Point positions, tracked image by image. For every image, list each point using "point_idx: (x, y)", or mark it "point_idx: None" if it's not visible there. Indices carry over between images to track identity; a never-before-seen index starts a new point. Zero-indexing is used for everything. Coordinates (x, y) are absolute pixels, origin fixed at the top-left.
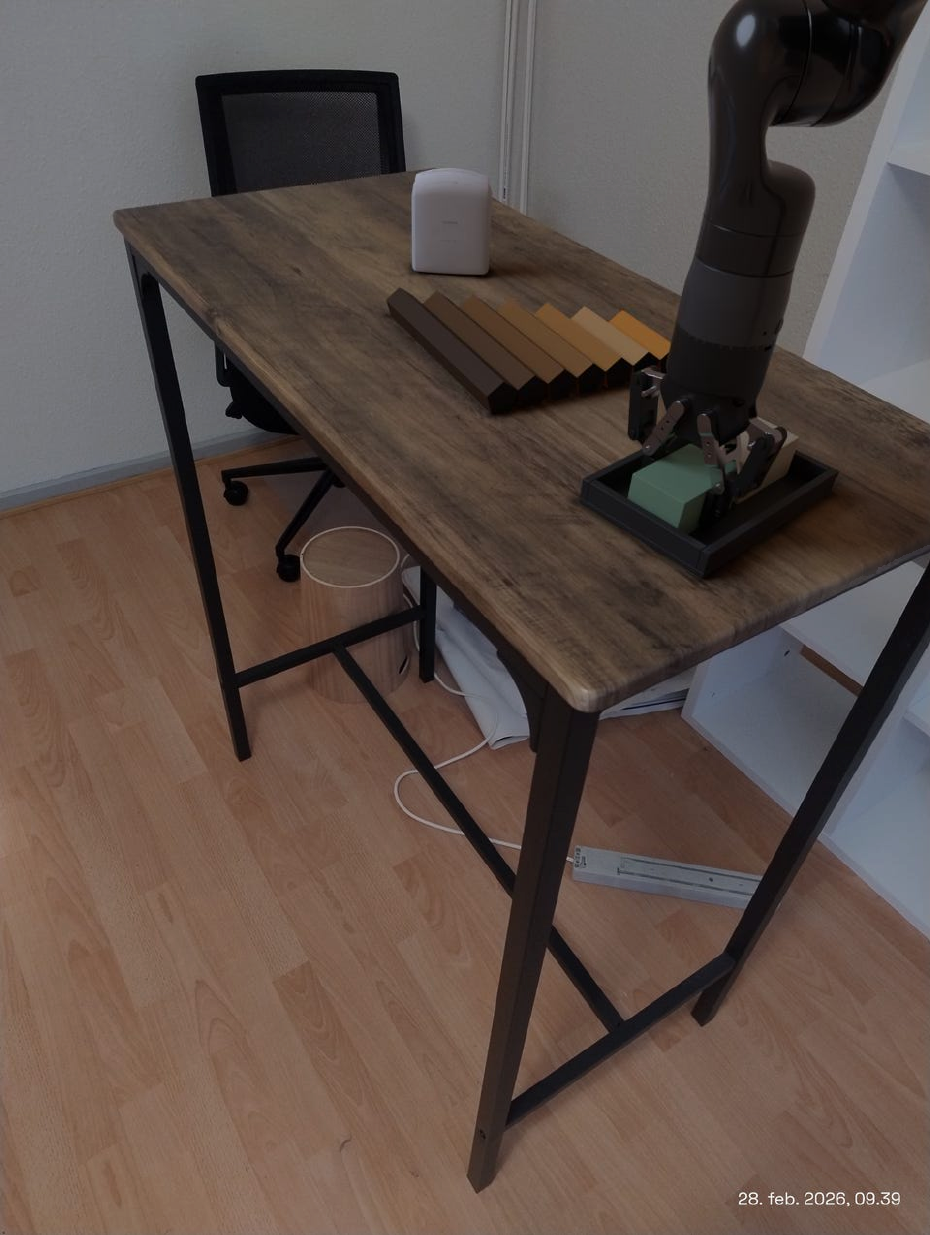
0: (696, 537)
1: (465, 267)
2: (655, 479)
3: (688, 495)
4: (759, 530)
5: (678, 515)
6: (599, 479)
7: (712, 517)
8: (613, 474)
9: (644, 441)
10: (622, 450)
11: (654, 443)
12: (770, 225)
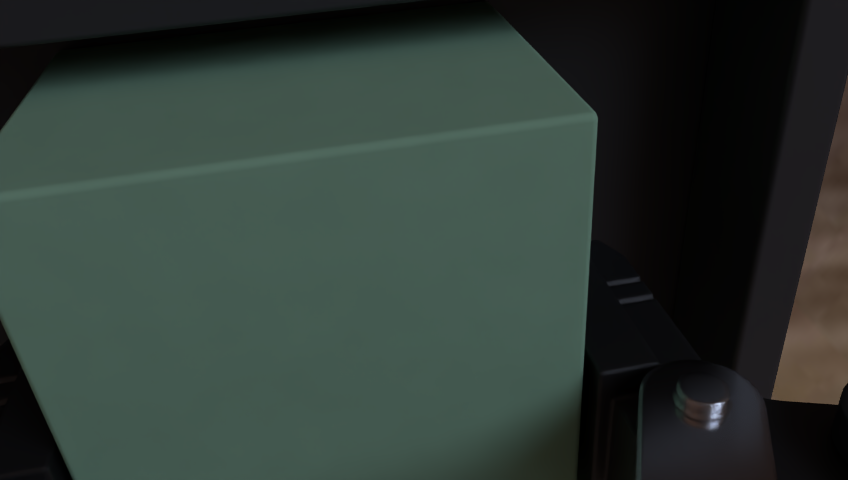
0: None
1: None
2: (409, 226)
3: (58, 310)
4: None
5: (26, 134)
6: (791, 2)
7: None
8: (753, 144)
9: (779, 435)
10: (834, 366)
11: (690, 474)
12: None
